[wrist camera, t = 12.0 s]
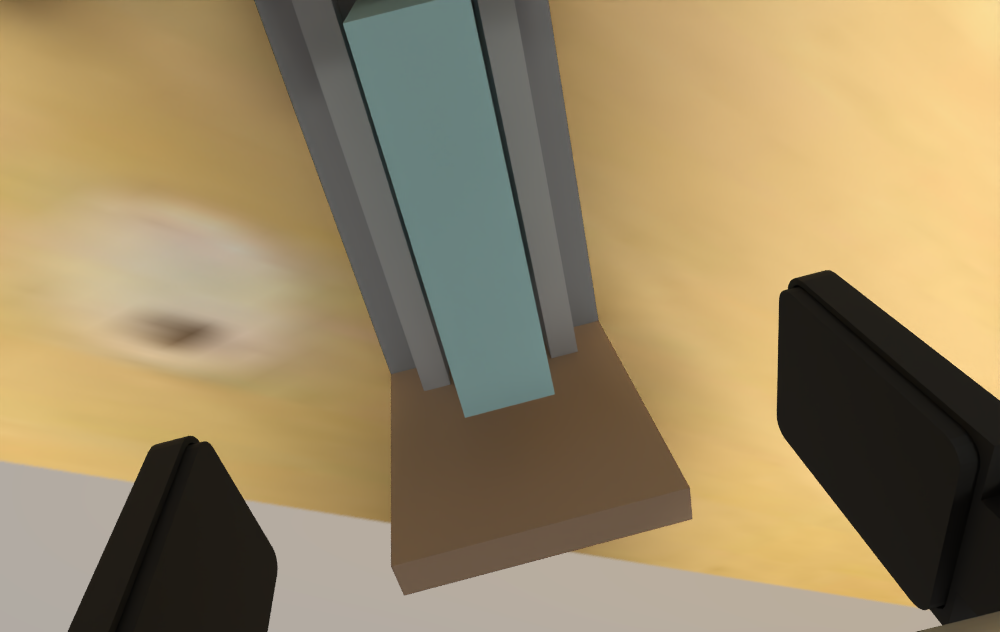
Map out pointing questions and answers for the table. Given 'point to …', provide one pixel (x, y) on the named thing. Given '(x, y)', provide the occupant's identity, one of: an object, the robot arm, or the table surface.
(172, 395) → the table surface
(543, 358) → the door panel
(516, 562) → the door frame
